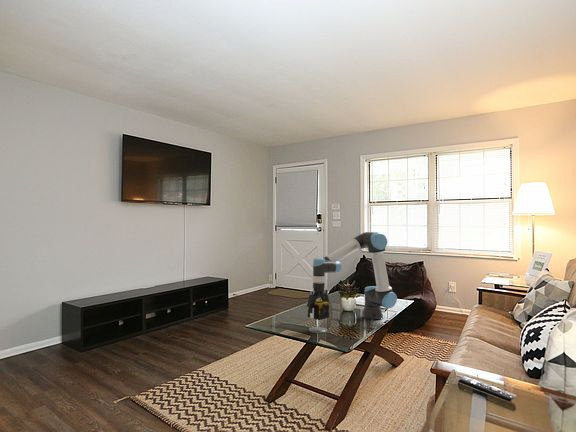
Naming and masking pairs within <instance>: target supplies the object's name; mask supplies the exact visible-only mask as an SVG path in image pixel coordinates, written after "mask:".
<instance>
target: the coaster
mask: <svg viewBox="0 0 576 432" xmlns="http://www.w3.org/2000/svg"><path fill="white" fill-rule="evenodd" d="M308 331H309V332H310V333H312V334H325V333H327V332H329V331H328V328H326V327H321V326H314V327H309V328H308Z"/></svg>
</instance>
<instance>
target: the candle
mask: <svg viewBox="0 0 576 432" xmlns="http://www.w3.org/2000/svg"><path fill="white" fill-rule="evenodd" d="M329 302H330V301H329ZM329 302H326V301H322V299H321V300H320V299H316V302H315V304H314V306H313V308H314V320H317V321H321V320H325V319H328V318H330V304H329ZM307 317H308V318H310V308H309V307H308V309H307Z"/></svg>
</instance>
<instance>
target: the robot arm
mask: <svg viewBox="0 0 576 432" xmlns="http://www.w3.org/2000/svg"><path fill="white" fill-rule="evenodd" d="M387 245H388V239H387V237H386V235H385V234H384V233H381V232H378V231H377V232H376V231H375V232H374V231H372V232H371V231H369V232H368V231H366V232H363V233H361V234H358V235H357V236H355V237H353V238H352V239H351V241H349V242H348V243H346V244H344V245H343V246H341V247H339V248H338V249H336V250H335V251H332V252H331V253H329V254H328V255H326V256H324V257H320V258H319V257H317V258H314V259H313V262H312V288H313V290H312V291H309V296H308V299H307V303H306V306H307V308H308V309H309V308H310V317H309V318H310V319H314V308H313V306H314V304H315V302H316V300H318V298H320V299H321V301H326V302H329V305H330V304H331V303H330V299H329V294H328V289H325V285H326V284H325V282H326V279H325V277H326V274H327V273H329V274H330V273H339V272H340V271H342V264H341V261H342V260H343V259H344V258H346V257H348V256H350V255H351V254H353V253H354V252H356V251H359V252H360V250H364V249H367V251H368V253H369V255H370V256H371V260H372V266H373V272H374V277H375V284H376V285H375V286H374V285H372V286H366V287H364V306H363V307H364V308H363V311H362V313H361V315H362V316H361V317H362V318H363V317H364V318H363V319H365V318H366V319H365V320H369V319H381V318H383V319H384V315H383V311H382V308H384V309H393V307H395V305H396V304H397V300H398V297H397V294H396V293H395V292H393V287H392V286H390V282H389V278H388V277H389V276H388V271H387V266H386V265H387V264H386V260H385V252H386V248H387ZM381 307H382V308H381ZM314 320H315V319H314ZM381 320H382V319H381Z"/></svg>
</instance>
